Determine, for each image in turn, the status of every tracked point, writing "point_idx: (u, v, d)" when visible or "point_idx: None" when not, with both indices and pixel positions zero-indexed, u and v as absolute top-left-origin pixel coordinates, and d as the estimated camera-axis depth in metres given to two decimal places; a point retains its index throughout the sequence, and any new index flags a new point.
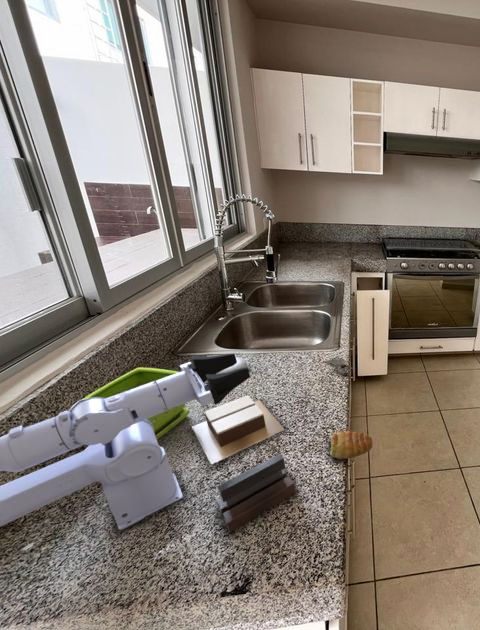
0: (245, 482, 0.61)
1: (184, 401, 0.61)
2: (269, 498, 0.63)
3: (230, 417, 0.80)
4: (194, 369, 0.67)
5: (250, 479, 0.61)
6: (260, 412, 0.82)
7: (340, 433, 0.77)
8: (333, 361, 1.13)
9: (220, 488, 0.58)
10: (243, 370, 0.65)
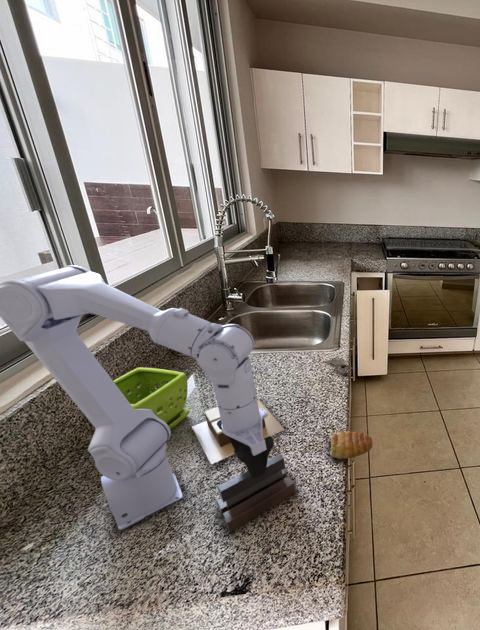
0: (245, 482, 0.61)
1: (235, 422, 0.54)
2: (269, 498, 0.63)
3: None
4: None
5: (250, 479, 0.61)
6: None
7: (340, 433, 0.77)
8: (333, 361, 1.13)
9: (220, 488, 0.58)
10: (265, 469, 0.59)
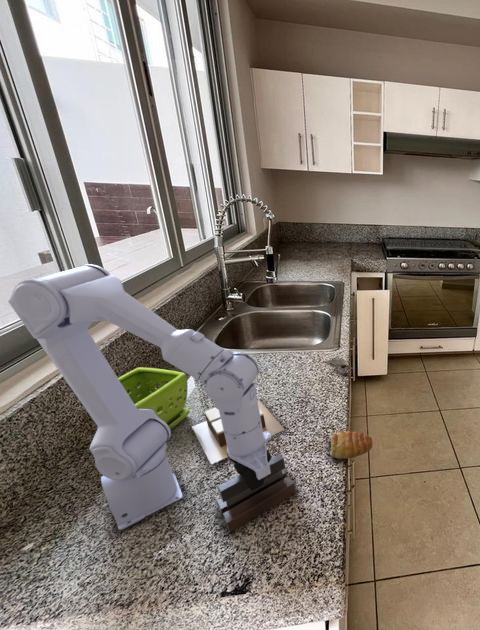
0: (245, 482, 0.61)
1: (240, 447, 0.56)
2: (269, 498, 0.63)
3: None
4: None
5: None
6: (260, 412, 0.82)
7: (340, 433, 0.77)
8: (333, 361, 1.13)
9: (220, 488, 0.59)
10: (262, 481, 0.62)
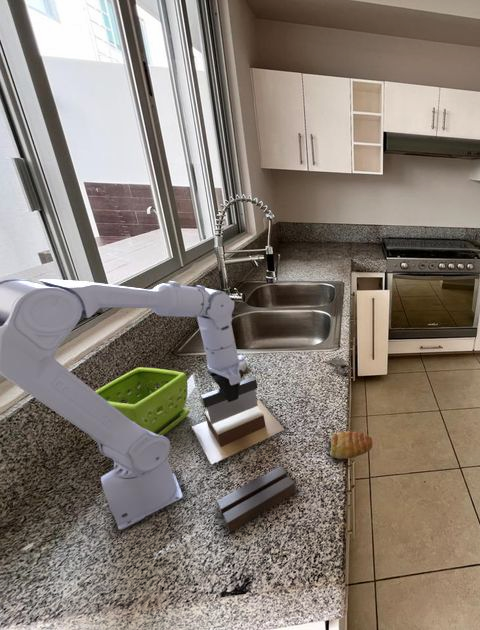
0: (223, 394, 0.75)
1: (217, 361, 0.71)
2: (269, 498, 0.63)
3: (230, 417, 0.80)
4: None
5: None
6: (260, 412, 0.82)
7: (340, 433, 0.77)
8: (333, 361, 1.13)
9: (202, 396, 0.73)
10: (237, 395, 0.77)
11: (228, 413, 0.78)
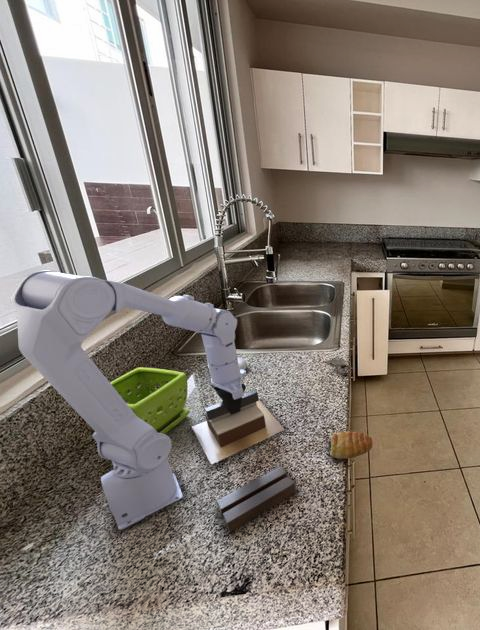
0: (226, 407, 0.79)
1: (221, 376, 0.74)
2: (269, 498, 0.63)
3: (230, 417, 0.80)
4: None
5: None
6: (260, 412, 0.82)
7: (340, 433, 0.77)
8: (333, 361, 1.13)
9: (206, 409, 0.76)
10: (239, 408, 0.80)
11: None
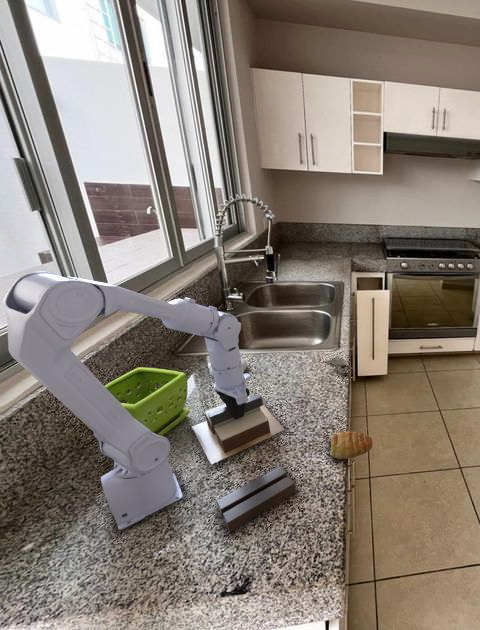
0: (230, 412, 0.77)
1: (224, 381, 0.72)
2: (269, 498, 0.63)
3: (234, 422, 0.78)
4: None
5: None
6: (265, 417, 0.80)
7: (340, 433, 0.77)
8: (333, 361, 1.13)
9: (210, 415, 0.75)
10: (243, 413, 0.79)
11: None
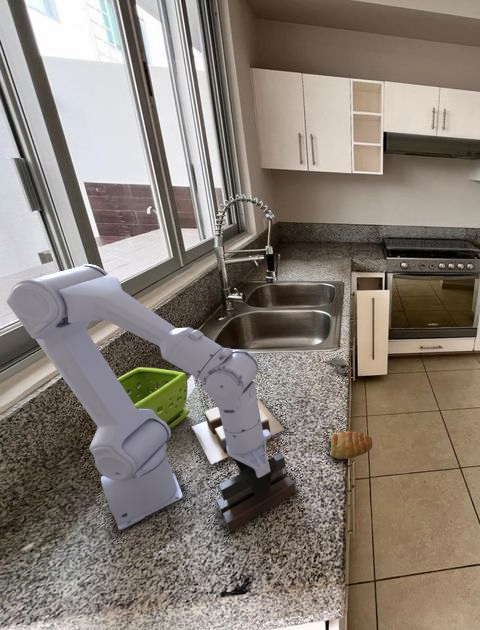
0: None
1: (240, 445, 0.56)
2: (269, 498, 0.63)
3: None
4: None
5: None
6: (265, 417, 0.80)
7: (340, 433, 0.77)
8: (333, 361, 1.13)
9: (221, 487, 0.59)
10: (268, 489, 0.60)
11: None
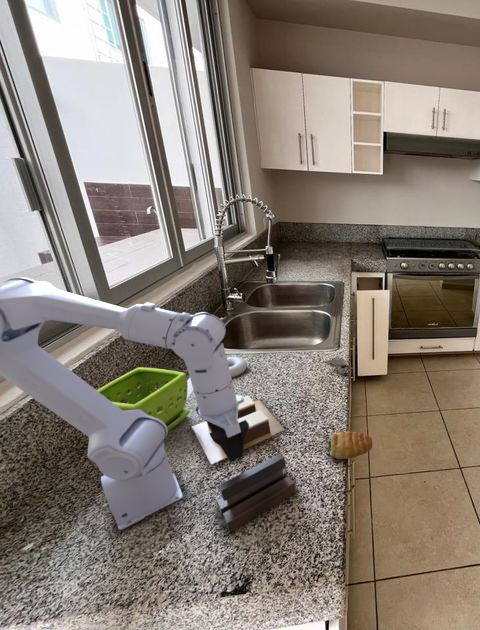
0: (246, 481, 0.61)
1: (210, 407, 0.57)
2: (269, 498, 0.63)
3: None
4: None
5: (251, 478, 0.61)
6: (265, 417, 0.80)
7: (340, 433, 0.77)
8: (333, 361, 1.13)
9: (221, 487, 0.59)
10: (242, 452, 0.61)
11: None
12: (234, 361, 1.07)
